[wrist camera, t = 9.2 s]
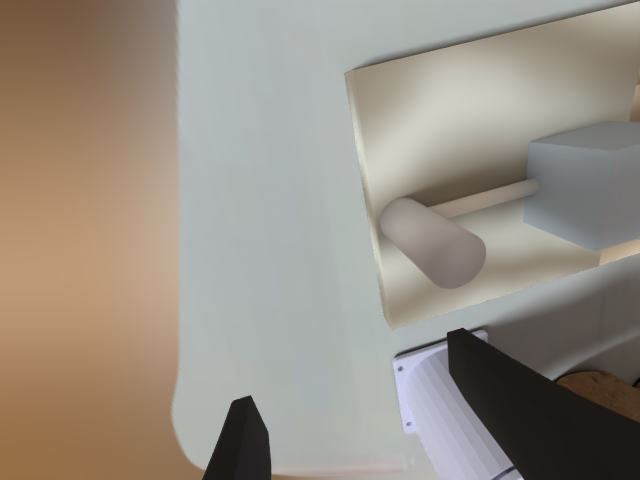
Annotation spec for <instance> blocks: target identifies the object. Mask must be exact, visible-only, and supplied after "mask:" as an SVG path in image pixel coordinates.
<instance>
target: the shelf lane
mask: <svg viewBox="0 0 640 480" xmlns="http://www.w3.org/2000/svg"><path fill="white" fill-rule="evenodd" d="M345 80H346V86H347V92H348V98H349V104H350V110H351V116H352V122H353V129H354V135H355V141H356V147H357V153H358V159H359V165H360V172H361V178H362V184H363V190H364V196H365V202H366V208H367V215H368V221H369V227H370V233H371V239H372V245H373V251H374V257H375V264H376V270H377V276H378V282H379V288H380V294H381V300H382V307H383V313H384V317H385V319H386V321H387V322H388V324H389V326H390V327H391V329H392V330H395V329H398V328H401V327H404V326H408V325H411V324H414V323H417V322H420V321H424V320H427V319H430V318H433V317H436V316H440V315H443V314H446V313H449V312H452V311H456V310H459V309H462V308H465V307H468V306H472V305H475V304H478V303H481V302H484V301H488V300H491V299H494V298H497V297H500V296H504V295H507V294H510V293H513V292H516V291H520V290H523V289H526V288H529V287H532V286H536V285H539V284H542V283H545V282H548V281H552V280H555V279H558V278H561V277H564V276H568V275H571V274H574V273H577V272H580V271H584V270H587V269H590V268H593V267H596V266H600V265H603V264H606V263H609V262H612V261H616V260H619V259H622V258H625V257H628V256H632V255H635V254H638V253H640V238H639V239H635V240H632V241H629V242H626V243H622V244H619V245H616V246H612V247H609V248H606V249H603V250H599V251H596V252H593V251H591V250H589V249H586V248H584V247H581V246H579V245H577V244H574V243H572V242H569V241H567V240H565V239H562V238H560V237H557V236H555V235H552V234H550V233H548V232H545V231H543V230H540V229H538V228H536V227H533V226H531V225H528V224H526V223H524V222H523V213H524V201H525V197H521V198H517V199H514V200H510V201H507V202H503V203H500V204H496V205H493V206H489V207H486V208H482V209H478V210H475V211H471V212H468V213H464V214H461V215H457V216H454V217H450V218H447V219H448V220H450V221H452V222H454V223H456V224H457V225H459V226H461V227H463V228H464V229H466V230H468V231H470V232H471V233H473V234H475V235H477V236H478V237H480V238H481V239H482V241H483V242H484V244H485V247H486V260H485V263H484V265H483V267H482V269H481V271H480V272H479V273H478V275H477V276H476V277H475V278H474V279H473V280H472V281H470V282H469V283H467V284H466V285H464V286H461V287H459V288H455V289H444V288H440V287H438V286H437V285H435V284H434V283H433V282H432V281H431V280H430V279H429V278H428V277H427V276H426V275H425V274H424V273H423V272H422V271H421V270H420V269H419V268H418V267H417V266H416V265H415V264H414V263H413V262H412V261H411V260H410V259H409V258H408V257H407V256H406V255H405V254H404V253H403V252H402V251H400V250H399V249H398V248H397V247H396V246H395V245H394V244H393V243H392V242H391V241H390V240H389V239H388V238H387V237H386V236H385V235H384V234H383V232H382V231H381V228H380V216H381V213H382V211H383V209H384V208H385V207H386V206H387V205H388V204H389V203H390V202H391V201H393V200H395V199H397V198H401V197H407V198H411V199H413V200H415V201H417V202H418V203H420V204H422V205H424V206H426V207H431V206H434V205H438V204H442V203H445V202H449V201H453V200H456V199H460V198H463V197H467V196H471V195H474V194H478V193H481V192H485V191H489V190H492V189H496V188H499V187H503V186H507V185H510V184H514V183H517V182H521V181H525V180H526V176H527V164H528V152H529V142H531V141H535V140H539V139H542V138H546V137H550V136H554V135H557V134H561V133H565V132H569V131H572V130H576V129H580V128H584V127H587V126H591V125H595V124H599V123H602V122H606V121H622V122H640V1H638V2H634V3H630V4H626V5H622V6H617V7H613V8H609V9H605V10H601V11H597V12H592V13H588V14H584V15H580V16H576V17H572V18H567V19H563V20H559V21H555V22H551V23H547V24H542V25H538V26H534V27H530V28H526V29H522V30H517V31H513V32H509V33H505V34H501V35H497V36H492V37H488V38H484V39H480V40H476V41H472V42H467V43H463V44H459V45H455V46H451V47H447V48H442V49H438V50H434V51H430V52H426V53H422V54H417V55H413V56H409V57H405V58H401V59H397V60H392V61H388V62H384V63H380V64H376V65H372V66H367V67H363V68H359V69H355V70H352V71H350V72H347V73H345Z"/></svg>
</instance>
